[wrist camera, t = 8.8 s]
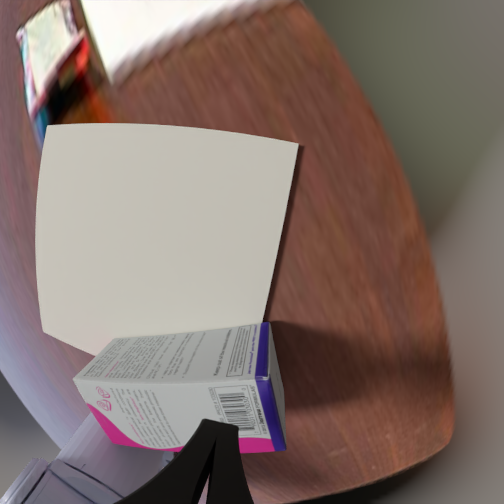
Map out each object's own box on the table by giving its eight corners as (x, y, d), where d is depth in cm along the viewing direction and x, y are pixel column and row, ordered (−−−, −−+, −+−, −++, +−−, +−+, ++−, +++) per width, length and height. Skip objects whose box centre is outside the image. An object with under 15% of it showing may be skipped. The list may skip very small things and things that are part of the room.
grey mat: (244, 397, 19) (243, 400, 18) (45, 330, 19) (43, 331, 19) (298, 144, 15) (298, 143, 14) (49, 126, 16) (47, 125, 15)
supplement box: (270, 317, 17) (111, 335, 18) (270, 377, 11) (67, 380, 12) (284, 389, 18) (138, 397, 19) (287, 453, 12) (109, 447, 13)
